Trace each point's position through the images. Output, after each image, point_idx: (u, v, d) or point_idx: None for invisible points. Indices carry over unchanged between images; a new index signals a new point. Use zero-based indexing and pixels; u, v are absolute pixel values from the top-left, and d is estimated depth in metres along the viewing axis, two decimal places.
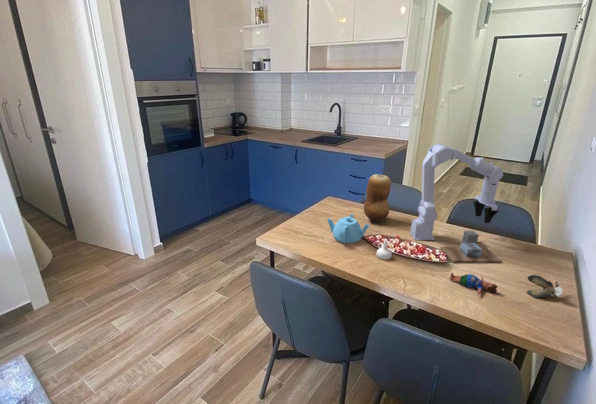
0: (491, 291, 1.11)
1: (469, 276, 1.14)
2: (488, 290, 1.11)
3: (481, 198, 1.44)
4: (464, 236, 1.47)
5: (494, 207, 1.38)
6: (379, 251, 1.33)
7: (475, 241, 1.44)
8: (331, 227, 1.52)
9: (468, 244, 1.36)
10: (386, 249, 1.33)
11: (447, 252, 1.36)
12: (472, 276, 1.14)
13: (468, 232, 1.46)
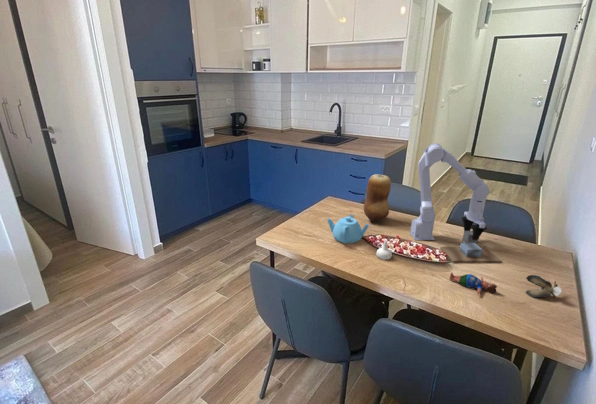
0: (491, 291, 1.11)
1: (469, 276, 1.14)
2: (488, 290, 1.11)
3: (469, 215, 1.42)
4: (464, 236, 1.47)
5: (482, 225, 1.36)
6: (379, 251, 1.33)
7: (475, 241, 1.44)
8: (331, 227, 1.52)
9: (468, 244, 1.36)
10: (386, 249, 1.33)
11: (447, 252, 1.36)
12: (472, 276, 1.14)
13: (468, 232, 1.46)
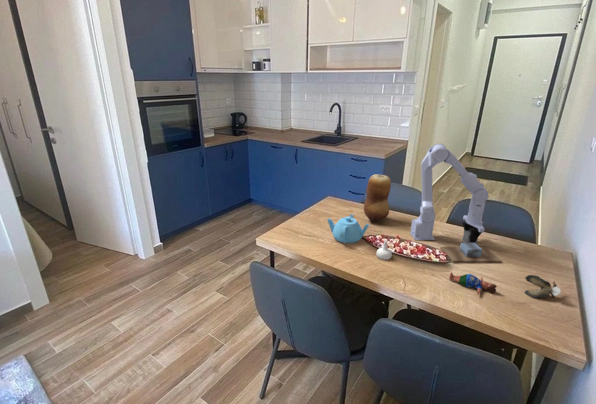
0: (490, 291, 1.11)
1: (468, 276, 1.14)
2: (487, 290, 1.12)
3: (468, 219, 1.43)
4: (464, 236, 1.47)
5: (481, 229, 1.37)
6: (379, 251, 1.33)
7: None
8: (331, 227, 1.52)
9: (468, 244, 1.36)
10: (386, 249, 1.33)
11: (447, 252, 1.36)
12: (471, 276, 1.14)
13: (468, 232, 1.46)
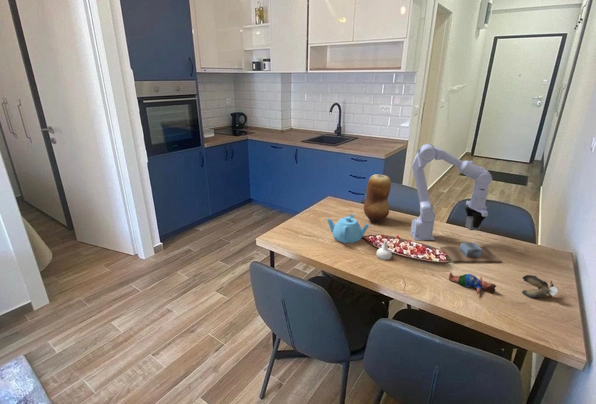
0: (490, 291, 1.11)
1: (468, 276, 1.14)
2: (487, 290, 1.12)
3: (471, 203, 1.40)
4: (467, 221, 1.44)
5: (484, 213, 1.34)
6: (379, 251, 1.33)
7: None
8: (331, 227, 1.52)
9: (468, 244, 1.36)
10: (386, 249, 1.32)
11: (447, 252, 1.36)
12: (471, 276, 1.14)
13: (471, 217, 1.43)
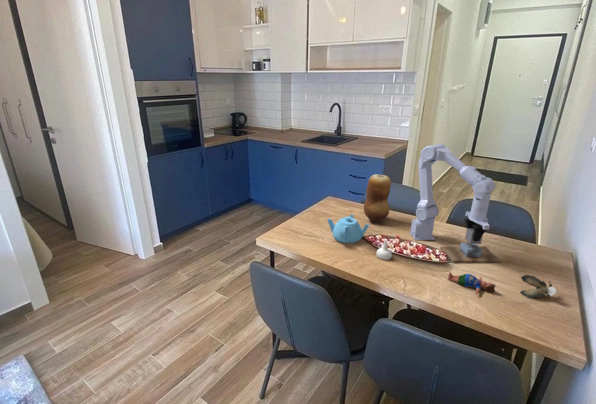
0: (489, 291, 1.11)
1: (467, 276, 1.14)
2: (486, 290, 1.12)
3: (471, 215, 1.29)
4: (467, 234, 1.33)
5: (485, 226, 1.23)
6: (379, 251, 1.33)
7: (479, 240, 1.31)
8: (331, 227, 1.52)
9: (468, 244, 1.36)
10: (386, 249, 1.32)
11: (447, 252, 1.36)
12: (470, 276, 1.14)
13: (471, 230, 1.32)
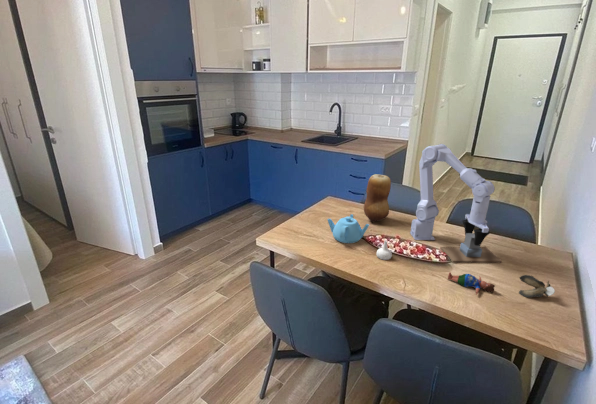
0: (489, 290, 1.11)
1: (467, 276, 1.14)
2: (486, 289, 1.12)
3: (471, 218, 1.29)
4: (466, 239, 1.34)
5: (485, 229, 1.24)
6: (379, 251, 1.33)
7: None
8: (331, 227, 1.52)
9: None
10: (386, 249, 1.32)
11: (447, 252, 1.36)
12: (470, 276, 1.14)
13: (470, 235, 1.33)
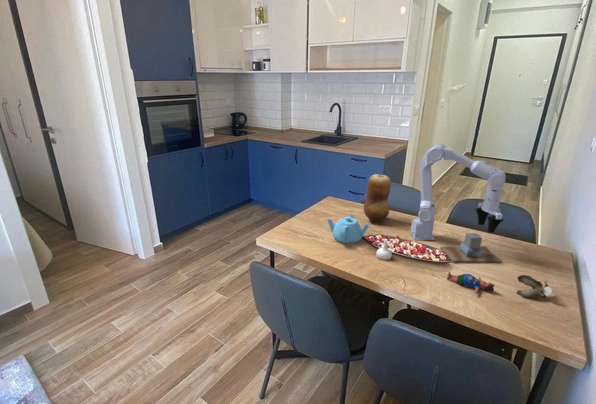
0: (488, 290, 1.11)
1: (466, 275, 1.14)
2: (485, 289, 1.12)
3: (484, 206, 1.33)
4: (466, 239, 1.34)
5: (498, 216, 1.27)
6: (379, 251, 1.33)
7: (478, 245, 1.32)
8: (331, 227, 1.52)
9: None
10: (386, 249, 1.32)
11: (447, 252, 1.36)
12: (469, 275, 1.14)
13: (470, 235, 1.33)
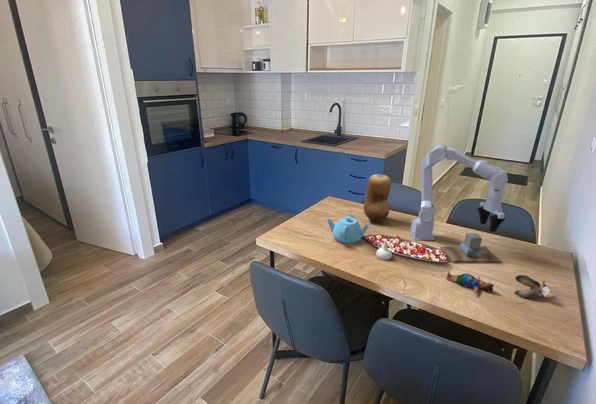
0: (487, 290, 1.11)
1: (466, 275, 1.15)
2: (485, 289, 1.12)
3: (486, 205, 1.34)
4: (466, 239, 1.34)
5: (500, 215, 1.28)
6: (379, 251, 1.33)
7: (478, 245, 1.32)
8: (331, 227, 1.52)
9: None
10: (386, 249, 1.32)
11: (447, 252, 1.36)
12: (469, 275, 1.14)
13: (470, 235, 1.33)
